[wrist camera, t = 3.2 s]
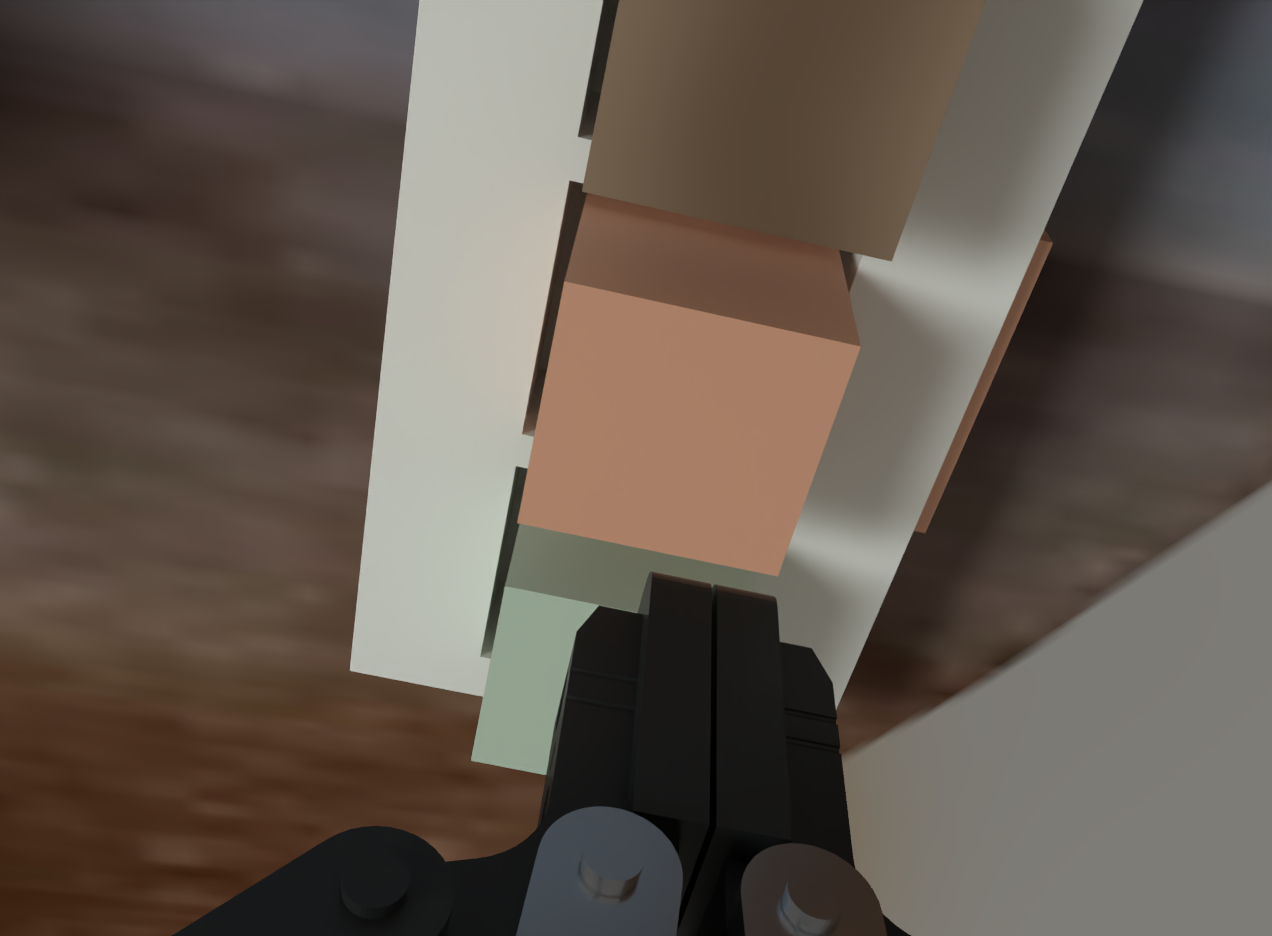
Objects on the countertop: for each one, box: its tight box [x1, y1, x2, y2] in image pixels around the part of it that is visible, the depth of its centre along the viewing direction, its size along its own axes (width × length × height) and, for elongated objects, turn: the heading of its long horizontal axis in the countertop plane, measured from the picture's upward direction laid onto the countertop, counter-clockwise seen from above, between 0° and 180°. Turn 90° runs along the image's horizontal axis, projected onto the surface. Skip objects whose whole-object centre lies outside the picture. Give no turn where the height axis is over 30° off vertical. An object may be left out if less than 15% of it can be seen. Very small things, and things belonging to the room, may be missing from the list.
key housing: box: [350, 0, 1143, 709], centre depth 21 cm, size 10×18×4 cm, turn 168°
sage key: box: [471, 524, 754, 775], centre depth 22 cm, size 4×4×4 cm
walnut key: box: [582, 0, 986, 262], centre depth 16 cm, size 4×4×4 cm
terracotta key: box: [517, 193, 861, 576], centre depth 19 cm, size 4×4×4 cm
